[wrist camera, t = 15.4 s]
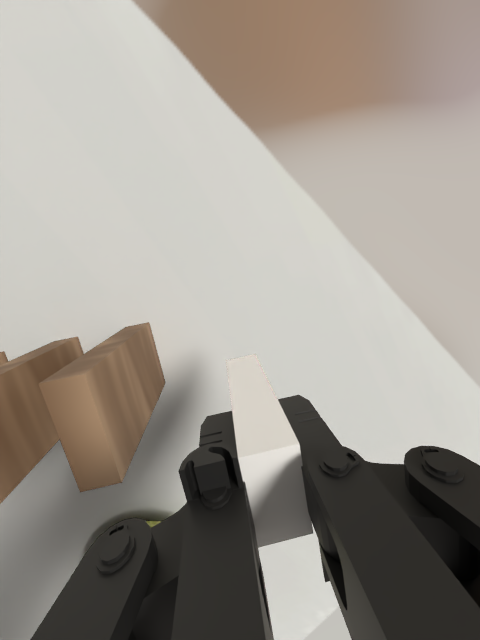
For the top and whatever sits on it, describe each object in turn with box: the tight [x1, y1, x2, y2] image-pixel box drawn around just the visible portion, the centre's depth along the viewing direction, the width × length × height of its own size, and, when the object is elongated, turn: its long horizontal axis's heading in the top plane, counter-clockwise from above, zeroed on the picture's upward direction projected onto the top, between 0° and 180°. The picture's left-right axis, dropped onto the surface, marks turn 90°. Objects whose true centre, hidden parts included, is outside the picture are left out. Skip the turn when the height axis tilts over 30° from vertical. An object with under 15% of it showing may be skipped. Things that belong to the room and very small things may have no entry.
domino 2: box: [39, 323, 165, 492], centre depth 15 cm, size 2×5×10 cm, turn 10°
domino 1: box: [0, 337, 84, 504], centre depth 15 cm, size 2×5×10 cm, turn 11°
